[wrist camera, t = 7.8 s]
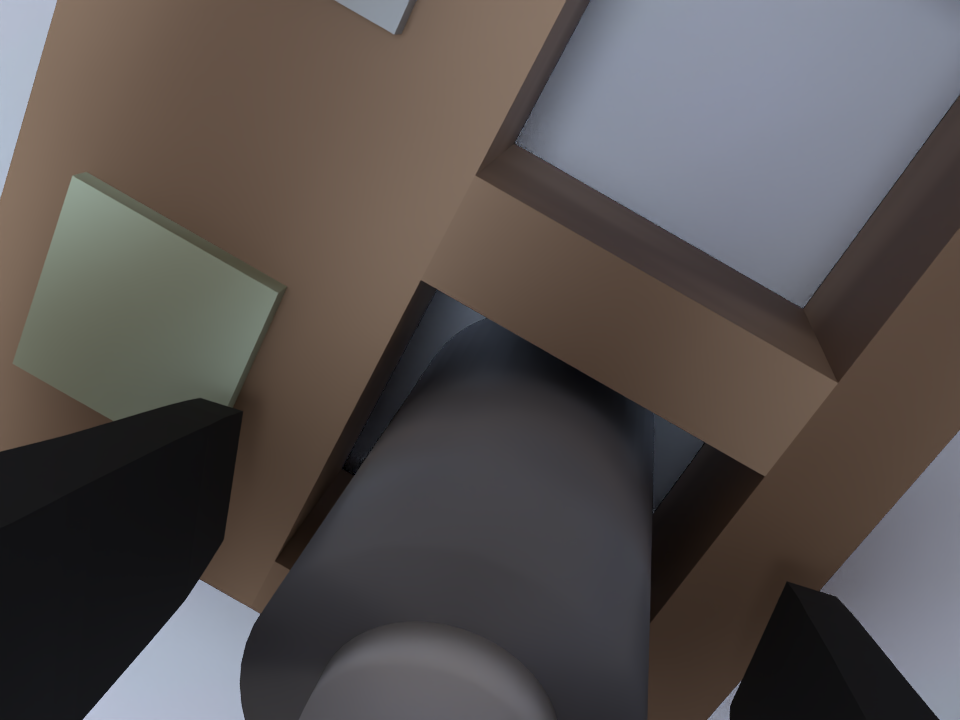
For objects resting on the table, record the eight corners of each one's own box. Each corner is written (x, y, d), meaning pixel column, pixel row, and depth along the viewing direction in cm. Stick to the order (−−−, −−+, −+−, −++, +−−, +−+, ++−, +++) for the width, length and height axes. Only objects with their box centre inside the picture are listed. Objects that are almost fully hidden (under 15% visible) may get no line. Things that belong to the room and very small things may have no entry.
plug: (685, 349, 14) (707, 670, 7) (615, 557, 16) (577, 988, 9) (442, 282, 15) (238, 526, 8) (397, 492, 16) (192, 854, 9)
